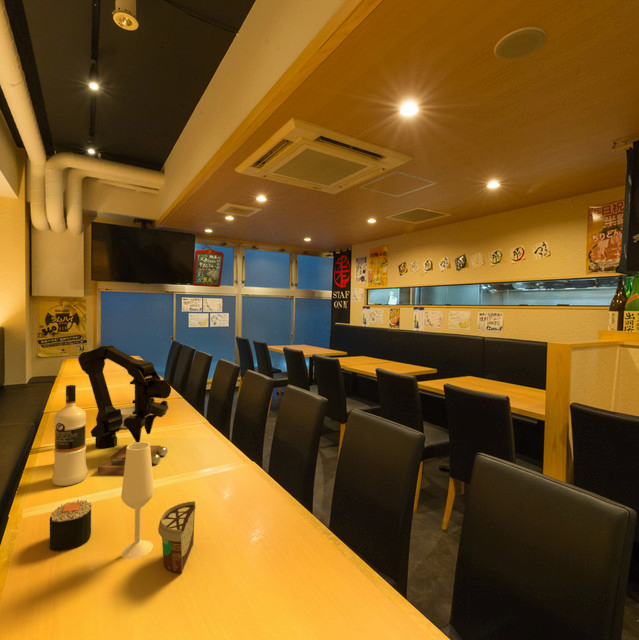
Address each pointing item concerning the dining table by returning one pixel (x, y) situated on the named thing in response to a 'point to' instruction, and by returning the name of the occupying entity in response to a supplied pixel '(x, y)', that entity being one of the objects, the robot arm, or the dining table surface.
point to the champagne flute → (137, 492)
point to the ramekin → (126, 413)
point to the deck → (119, 462)
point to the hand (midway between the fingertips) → (143, 437)
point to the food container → (177, 535)
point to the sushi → (70, 525)
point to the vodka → (70, 442)
